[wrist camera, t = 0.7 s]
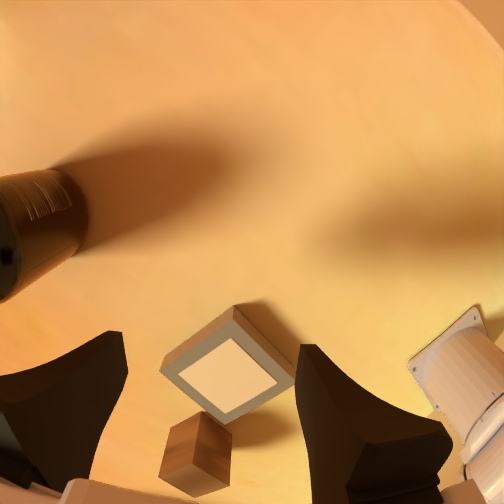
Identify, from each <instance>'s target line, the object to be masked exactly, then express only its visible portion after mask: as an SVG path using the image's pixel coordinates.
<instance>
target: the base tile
mask: <svg viewBox="0 0 504 504" xmlns="http://www.w3.org/2000/svg"><path fill="white" fill-rule="evenodd" d="M159 371H160V372H161V373H162V374H163V375H164V376H165V377H167V378H168V379H169V380H170V381H171V382H172V383H173V384H175V385H176V386H177V387H178V388H179V389H180V390H182V391H183V392H184V393H185V394H186V395H188V396H189V397H190V398H191V399H192V400H194V401H195V402H196V403H197V404H199V405H200V406H201V407H202V408H204V409H205V410H206V411H207V412H209V413H210V414H211V415H212V416H214V417H215V418H216V419H218V420H219V421H220V422H222V423H223V424H224V425H225V424H227V423H229V422H231V421H233V420H235V419H237V418H238V417H240V416H242V415H244V414H246V413H248V412H249V411H251V410H253V409H255V408H256V407H258V406H260V405H262V404H263V403H265V402H267V401H268V400H270V399H272V398H273V397H275V396H277V395H278V394H280V393H282V392H283V391H285V390H287V389H288V388H290V387H291V386H293V385H294V383H295V377H296V375H295V370H294V367H293V366H292V365H291V364H290V363H289V362H288V361H287V360H286V359H285V358H284V357H283V356H282V355H281V353H280V352H279V351H278V350H277V349H276V348H275V347H274V346H273V345H272V344H271V343H270V342H269V341H268V340H267V339H266V338H265V337H264V336H263V335H262V334H261V333H260V332H259V331H258V330H257V329H256V328H255V327H254V326H253V325H252V324H251V323H250V322H249V321H248V320H247V319H246V317H245V316H244V315H243V314H242V313H241V312H240V311H239V310H238V309H237V308H236V307H235V306H234V305H233V306H232V307H231V308H229V309H228V310H227V311H225V312H224V313H223V314H221V315H220V316H219V317H217V318H216V319H215V320H213V321H212V322H211V323H209V324H208V325H207V326H205V327H204V328H202V329H201V330H200V331H198V332H197V333H196V334H194V335H193V336H192V337H190V338H189V339H188V340H186V341H185V342H183V343H182V344H181V345H179V346H178V347H177V348H175V349H174V350H173V351H171V352H170V353H168V354H167V355H166V356H165V357H164V360H163V363H162V365H161V368H160V370H159Z"/></svg>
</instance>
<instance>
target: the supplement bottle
mask: <svg viewBox="0 0 504 504" xmlns="http://www.w3.org/2000/svg"><path fill="white" fill-rule="evenodd" d="M87 226H88V212H87V206H86V202H85V199H84V196H83V194H82V192H81V190H80V188H79V187H78V186H77V184H76V183H75V182H74V181H73V180H72V179H71V178H70V177H69V176H68V175H66V174H64V173H62V172H60V171H57V170H51V169H46V170H37V171H30V172H24V173H18V174H13V175H7V176H2V177H0V304H2V303H4V302H6V301H8V300H9V299H11V298H12V297H14V296H15V295H16V294H18V293H19V292H21V291H22V290H23V289H25V288H26V287H28V286H29V285H30V284H32V283H33V282H35V281H36V280H38V279H39V278H40V277H42V276H43V275H45V274H46V273H48V272H49V271H51V270H52V269H54V268H55V267H57V266H58V265H59V264H61V263H62V262H64V261H65V260H67V259H68V258H70V257H71V256H72V255H73V254H75V253H76V252H77V250H78V249H79V248H80V246H81V245H82V243H83V241H84V238H85V235H86V232H87Z"/></svg>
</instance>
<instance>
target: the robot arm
mask: <svg viewBox="0 0 504 504" xmlns="http://www.w3.org/2000/svg"><path fill="white" fill-rule="evenodd" d="M474 316H475V317H474ZM414 367H415V368H414ZM407 368H408V370H409V371H410V373H411V374H412V376H413V377H414V379H415V380H416V382H417V383H418V385H419V386H420V388H421V389H422V391H423V392H424V394H425V395H426V397H427V398H428V400H429V402H430V403H431V405H432V406H433V408H434V409H435V411H436V412H437V413H441V412H442V413H443V414H444V416H445V417H446V419H447V420H448V422H449V423H450V425H451V427H452V428H453V430H454V431H455V433H456V434H457V436H458V438H459V439H460V441H461V442H462V444H463V446H464V448H463V450H462V451H461V452H460V453H459V455H460V457H461V459H462V461H463V462H464V464H463V465H462V466H461V467H460V470H459V473H458V482H459V483H458V484H455V485H452V486H450V487H447V488H445V489H444V490H443V491H441V492H440V491H439V489H438V487H437V485H439V483H440V479H439V477H438V475H437V473H438V471H439V470H440V469H441V467H442V466H443V464H444V463H445V461H446V460H447V459H448V457H449V455H450V453H451V451H452V448H453V442H452V439H451V437H450V436H449V434H448V432H447V431H446V429H445V427H444V426H443V424H442V423H441V422H439V421H435V420H432V419H428V418H424V417H421V416H417V415H415V414H412V413H409V412H407V411H404V410H402V409H399V408H397V407H395V406H393V405H391V404H389V403H387V402H385V401H383V400H381V399H380V398H378V397H376V396H375V395H373V394H372V393H370V392H369V391H367V390H365V389H364V388H363V387H361V386H360V385H359V384H357V383H356V382H355V381H354V380H352V379H351V378H350V377H349V376H347V375H346V374H345V373H344V372H343V371H342V370H341V369H340V368H339V367H338V366H337V365H336V364H334V363H333V362H332V361H331V360H330V358H329V357H328V356H327V355H326V354H325V353H324V352H323V351H322V350H321V349H320V348H319V347H318V346H317V345H316V344H301V345H300V352H299V358H298V365H297V371H296V377H295V383H294V385H295V396H296V405H297V409H298V414H299V418H300V422H301V426H302V430H303V434H304V438H305V442H306V447H307V452H308V459H309V468H310V478H311V490H312V504H504V352H503V351H502V350H500V349H499V348H498V347H497V346H496V345H495V344H494V343H493V342H492V341H491V340H490V339H488V336H487V333H486V330H485V327H484V324H483V321H482V319H481V316H480V313H479V311H478V309H477V308H476V307H472V308H471V309H470V310H468V311H467V312H466V313H465V314H464V315H463V316H462V317H461V318H460V319H459V320H458V321H457V322H455V323H454V324H453V325H452V326H451V327H450V328H449V329H448V330H446V331H445V332H444V333H443V334H442V335H441V336H439V337H438V338H437V339H436V340H435V341H433V342H432V343H431V344H430V345H429V346H427V347H426V348H425V349H424V350H422V351H421V352H420V353H419V354H417V355H416V356H415V357H414V358H412V359H411V360H410V361H409V362H408V363H407ZM413 368H414V369H413ZM127 375H128V367H127V361H126V355H125V349H124V342H123V336H122V332H117V331H107V332H104V333H102V334H101V335H99V336H97V337H95V338H93V339H92V340H90V341H88V342H87V343H85V344H83V345H81V346H80V347H78V348H76V349H74V350H72V351H70V352H69V353H67V354H65V355H63V356H61V357H59V358H57V359H55V360H52V361H50V362H48V363H45V364H43V365H40V366H37V367H35V368H31V369H28V370H24V371H21V372H17V373H13V374H8V375H2V376H0V504H199V503H197V502H193V501H188V500H184V499H180V498H175V497H168V496H162V495H156V494H150V493H145V492H140V491H135V490H130V489H126V488H121V487H117V486H113V485H109V484H105V483H102V482H98V481H94V480H89V475H90V470H91V467H92V463H93V459H94V455H95V452H96V449H97V446H98V443H99V439H100V436H101V434H102V432H103V429H104V427H105V425H106V423H107V421H108V419H109V417H110V415H111V413H112V411H113V409H114V407H115V405H116V403H117V401H118V399H119V397H120V395H121V393H122V390H123V387H124V384H125V381H126V378H127Z"/></svg>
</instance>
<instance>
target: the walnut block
mask: <svg viewBox="0 0 504 504" xmlns="http://www.w3.org/2000/svg"><path fill="white" fill-rule="evenodd" d="M231 446H232V434H230V433H229V432H228V431H226V430H225V429H223V428H222V427H221V426H219V425H218V424H217V423H215V422H214V421H213V420H212V419H210V418H209V417H208V416H206V415H205V414H204V413H202V412H199V413H197V414H195V415H193V416H192V417H190V418H188V419H186V420H184V421H182V422H181V423H179V424H177V425H175V426H173V427H171V428H170V432H169V436H168V440H167V444H166V448H165V452H164V456H163V460H162V464H161V468H160V472H159V476H158V477H159V478H161V479H162V480H164V481H165V482H167V483H169V484H171V485H172V486H174V487H176V488H177V489H179V490H181V491H183V492H185V493H186V494H188V495H190V496H192V497H194V498H196V497H199V496H202V495H205V494H208V493H211V492H214V491H217V490H220V489H223V488H225V487H228V486H230V466H231Z"/></svg>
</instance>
